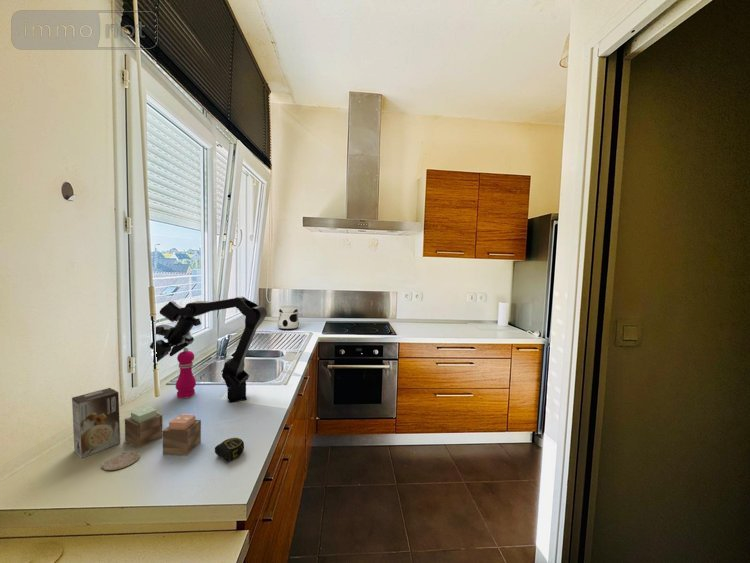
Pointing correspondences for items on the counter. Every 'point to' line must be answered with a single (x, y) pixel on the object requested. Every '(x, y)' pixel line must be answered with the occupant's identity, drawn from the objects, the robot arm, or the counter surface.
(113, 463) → the flatbread
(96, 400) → the coffee box
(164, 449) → the wooden box
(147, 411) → the pale green cube
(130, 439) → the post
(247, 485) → the counter surface
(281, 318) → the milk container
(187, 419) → the pink dotted cube
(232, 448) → the tape measure
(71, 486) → the counter surface
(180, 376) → the pepper mill
